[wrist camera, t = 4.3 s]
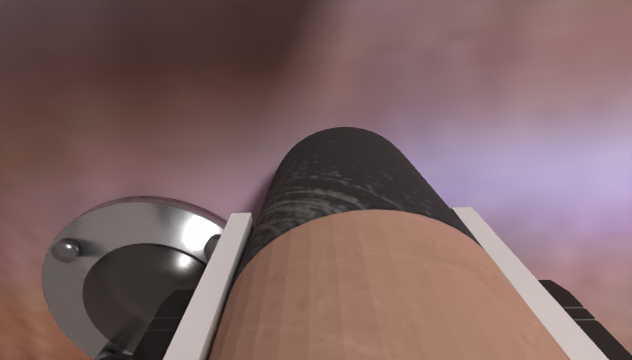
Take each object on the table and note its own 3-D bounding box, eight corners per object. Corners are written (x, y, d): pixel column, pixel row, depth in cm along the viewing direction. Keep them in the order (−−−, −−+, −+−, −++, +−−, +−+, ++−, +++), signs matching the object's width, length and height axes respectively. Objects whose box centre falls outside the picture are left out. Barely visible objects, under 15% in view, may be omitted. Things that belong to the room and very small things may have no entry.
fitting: (19, 199, 21) (-81, 252, 15) (371, 190, 20) (390, 240, 15) (89, 373, 26) (33, 454, 21) (364, 367, 26) (377, 447, 21)
